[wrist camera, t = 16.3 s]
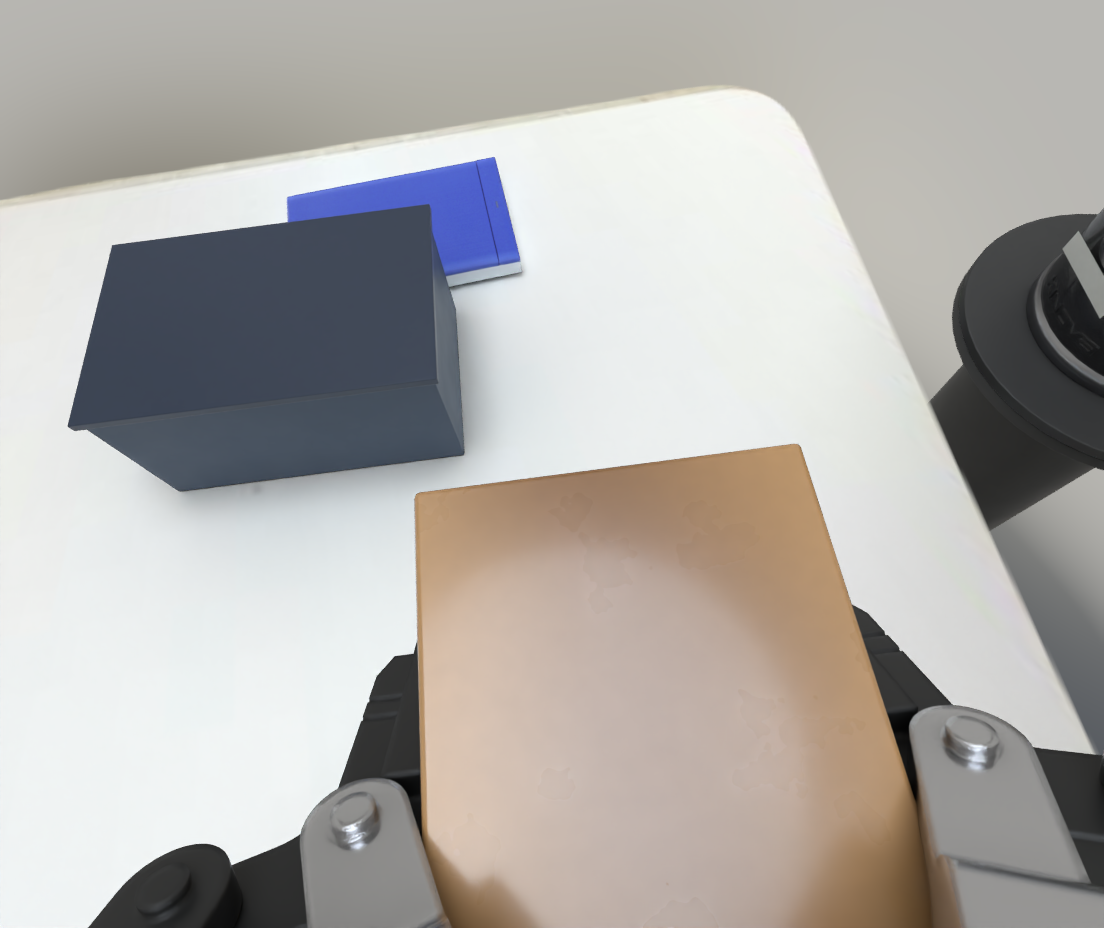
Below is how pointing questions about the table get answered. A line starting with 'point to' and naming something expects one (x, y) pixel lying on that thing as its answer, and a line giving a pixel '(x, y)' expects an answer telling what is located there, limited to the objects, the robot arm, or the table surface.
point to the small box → (654, 707)
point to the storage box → (276, 351)
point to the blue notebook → (436, 214)
